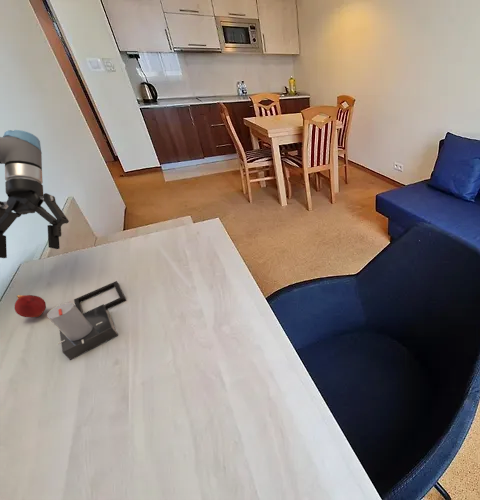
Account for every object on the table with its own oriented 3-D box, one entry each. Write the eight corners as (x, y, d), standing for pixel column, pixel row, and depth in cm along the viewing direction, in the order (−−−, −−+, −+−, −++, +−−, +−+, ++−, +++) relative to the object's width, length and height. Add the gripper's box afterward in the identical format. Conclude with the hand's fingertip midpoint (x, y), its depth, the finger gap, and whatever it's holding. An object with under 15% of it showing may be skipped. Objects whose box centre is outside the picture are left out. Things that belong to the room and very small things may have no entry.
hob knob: (67, 333, 75) (45, 309, 70) (91, 321, 77) (71, 298, 72) (69, 344, 71) (46, 320, 67) (94, 332, 74) (73, 308, 69)
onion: (51, 305, 88) (32, 284, 84) (53, 314, 85) (34, 294, 80) (25, 316, 85) (4, 295, 81) (26, 327, 82) (5, 306, 77)
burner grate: (76, 302, 89) (73, 299, 88) (118, 283, 94) (116, 280, 94) (80, 322, 82) (78, 318, 81) (126, 300, 88) (124, 297, 87)
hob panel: (62, 333, 79) (55, 325, 77) (109, 311, 84) (103, 303, 82) (67, 363, 71) (58, 355, 69) (118, 336, 76) (112, 328, 75)
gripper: (80, 181, 94) (85, 246, 91) (-11, 194, 91) (-9, 263, 87) (60, 170, 87) (65, 241, 83) (-39, 184, 83) (-39, 259, 80)
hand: (27, 252), depth 85 cm, fingers open, 13 cm apart
